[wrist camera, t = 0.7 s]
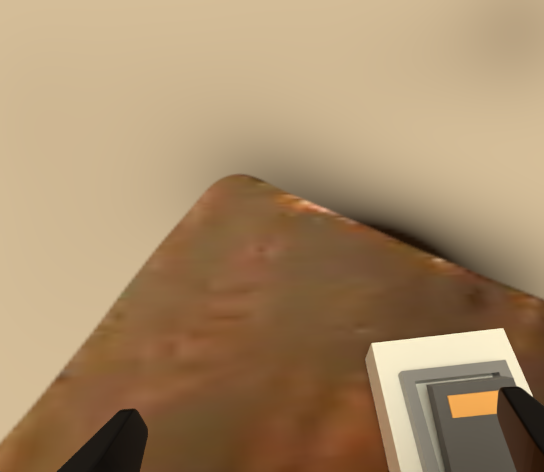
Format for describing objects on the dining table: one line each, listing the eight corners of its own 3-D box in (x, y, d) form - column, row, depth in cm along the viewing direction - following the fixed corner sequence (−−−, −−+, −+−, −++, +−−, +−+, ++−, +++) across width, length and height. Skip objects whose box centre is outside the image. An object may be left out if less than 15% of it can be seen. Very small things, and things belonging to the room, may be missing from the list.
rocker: (541, 510, 17) (556, 521, 16) (455, 517, 18) (465, 529, 16) (503, 376, 19) (514, 377, 18) (426, 384, 19) (433, 386, 18)
